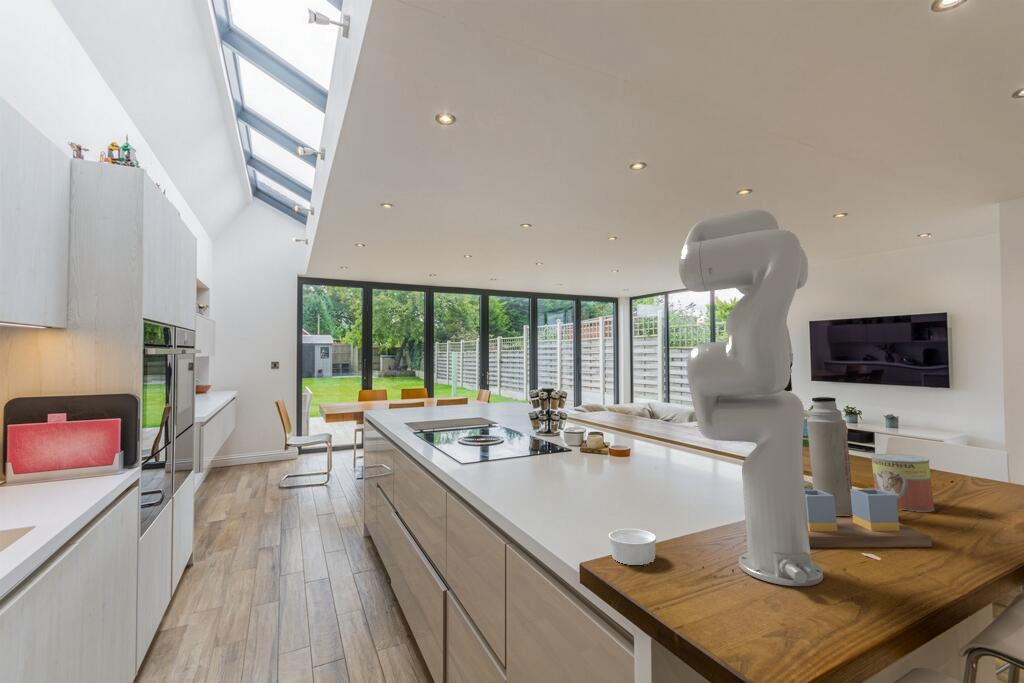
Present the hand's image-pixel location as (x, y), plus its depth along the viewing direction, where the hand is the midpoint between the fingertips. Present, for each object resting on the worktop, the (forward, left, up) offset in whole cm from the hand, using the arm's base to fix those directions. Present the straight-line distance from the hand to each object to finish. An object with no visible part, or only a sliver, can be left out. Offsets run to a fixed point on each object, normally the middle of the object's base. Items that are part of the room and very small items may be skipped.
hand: (773, 390), depth 106 cm
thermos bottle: (+8, -16, -31) cm, 35 cm away
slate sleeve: (-9, -14, -28) cm, 33 cm away
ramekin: (-20, +38, -31) cm, 53 cm away
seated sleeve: (-9, -2, -28) cm, 30 cm away
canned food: (+13, -36, -31) cm, 49 cm away
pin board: (-9, -8, -30) cm, 33 cm away
